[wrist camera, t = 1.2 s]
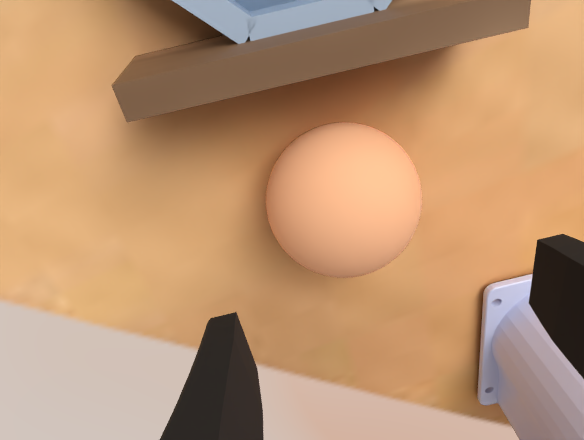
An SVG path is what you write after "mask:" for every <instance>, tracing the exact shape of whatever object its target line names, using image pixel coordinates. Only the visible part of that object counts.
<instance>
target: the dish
mask: <svg viewBox="0 0 584 440" xmlns="http://www.w3.org/2000/svg"><path fill="white" fill-rule="evenodd" d="M172 1H174V2H175V3H177V4H178V5H180V6H181V7H183V8H184V9H186V10H187V11H189V12H190V13H192V14H193V15H195V16H197V17H198V18H200V19H201V20H203V21H204V22H206V23H207V24H209V25H210V26H212V27H213V28H215V29H216V30H218V31H219V32H221V33H222V34H224V35H226V36H227V37H229V38H230V39H232V40H233V41H235V42H236V43H238V44H241V43H245V42H246V40H247V38H248V37H250V41H254V40H258V39H262V38H266V37H271V36H275V35H279V34H283V33H288V32H292V31H296V30H300V29H304V28H309V27H313V26H317V25H321V24H326V23H330V22H334V21H338V20H343V19H347V18H351V17H355V16H360V15H364V14H368V13H372V12H374V9H376V10H379V11H381V10H385V9H387V7H388V6H389V4H390V3H391V1H392V0H172Z"/></svg>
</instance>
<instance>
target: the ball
mask: <svg viewBox="0 0 584 440" xmlns="http://www.w3.org/2000/svg"><path fill="white" fill-rule="evenodd" d="M421 209H422V191H421V183H420V180H419V176H418V173H417V170H416V168H415V166H414V164H413V162H412V161H411V159H410V158H409V156H408V155H407V153H406V152H405V150H404V149H403V148H402V147H401V146H400V145H399V144H398V143H397V142H396V141H395V140H393V139H392V138H391V137H389V136H388V135H387V134H385V133H383V132H381V131H380V130H377V129H375V128H372V127H370V126H367V125H363V124H359V123H350V122H338V123H330V124H325V125H322V126H319V127H316V128H314V129H311V130H309V131H307V132H305V133H304V134H302V135H300V136H299V137H298V138H296V139H295V140H294V141H293V142H292V143H291V144H290V145H289V146H288V147H287V148H286V149H285V150H284V151H283V152H282V154H281V155H280V156H279V158H278V159H277V161H276V163H275V165H274V166H273V169H272V171H271V174H270V177H269V181H268V185H267V190H266V211H267V216H268V220H269V224H270V227H271V229H272V232H273V234H274V236H275V237H276V239H277V241H278V243H279V244H280V246H281V247H282V248H283V250H284V251H285V252H286V253H287V254H288V255H289V256H290V257H291V258H292V259H293V260H295V261H296V262H297V263H299V264H300V265H302V266H303V267H305V268H307V269H309V270H311V271H313V272H316V273H318V274H322V275H326V276H330V277H337V278H348V277H356V276H362V275H365V274H369V273H371V272H374V271H376V270H378V269H380V268H382V267H384V266H385V265H387V264H389V263H390V262H391V261H392V260H394V259H395V258H396V257H397V256H398V255H399V254H400V253H401V252H402V251H403V250H404V249H405V248H406V246H407V245H408V244H409V242H410V240H411V239H412V237H413V235H414V233H415V231H416V229H417V226H418V223H419V220H420V215H421Z"/></svg>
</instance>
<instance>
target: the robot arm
mask: <svg viewBox="0 0 584 440" xmlns="http://www.w3.org/2000/svg"><path fill="white" fill-rule="evenodd" d="M477 398H478V400H479V402H480V404H482V405H491V404H495V403H498V404H499V406H500V407H501V409H502V411H503V412H504V414H505V416H506V417H507V419H508V421H509V422H510V424H511V426H512V427H513V429H514V431H515V433H516V434H517V436H518V438H519V439H520V440H584V242H582V241H579V240H577V239H575V238H572V237H570V236H567V235H565V234H560V235H556V236H552V237H548V238H544V239H539V240H537V247H536V254H535V261H534V268H533V274H530V275H525V276H521V277H517V278H513V279H509V280H504V281H500V282H496V283H492V284H490V285H489V286H487V287H486V289H485V290H484V294H483V311H482V328H481V345H480V362H479V379H478V396H477ZM160 440H263V410H262V403H261V394H260V386H259V379H258V371H257V367H256V364H255V361H254V359H253V356H252V353H251V351H250V348H249V345H248V343H247V340H246V337H245V335H244V332H243V329H242V326H241V324H240V321H239V318H238V316H237V313H236V312H235V313H231V314H227V315H223V316H218V317H214V318H211V319H210V320H209V322H208V323H207V326H206V329H205V332H204V335H203V338H202V341H201V344H200V347H199V350H198V352H197V355H196V358H195V361H194V363H193V366H192V368H191V371H190V373H189V376H188V378H187V380H186V383H185V385H184V388H183V390H182V392H181V395H180V397H179V400H178V402H177V404H176V406H175V409H174V411H173V413H172V415H171V417H170V420H169V421H168V424H167V426H166V428H165V430H164V432H163V434H162V436H161V438H160Z"/></svg>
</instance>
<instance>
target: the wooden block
mask: <svg viewBox="0 0 584 440" xmlns="http://www.w3.org/2000/svg"><path fill="white" fill-rule="evenodd" d="M530 4H531V0H392V1H391V3H390V4H389V6H388V7H387V9H385V10H381V11H379V10H376V9H374V12H372V13H368V14H364V15H360V16H355V17H351V18H347V19H343V20H338V21H334V22H330V23H326V24H321V25H317V26H313V27H309V28H304V29H300V30H296V31H292V32H288V33H283V34H279V35H275V36H271V37H266V38H262V39H258V40H254V41H250V37H248V38H247V40H246V42H245V43H241V44H238V43H236V42H235V41H233V40H232V39H230V38H229V37H227V36H226V35H223V36H219V37H215V38H211V39H206V40H202V41H198V42H194V43H189V44H185V45H181V46H177V47H172V48H168V49H164V50H160V51H156V52H151V53H147V54H143V55H139V56H135V57H134V58H133V60H132V61H131V62H130V63H129V65H128V66H127V67H126V68H125V70H124V71H123V72H122V73H121V75H120V76H119V77H118V78H117V79H116V81H115V82H114V83H113V84H112V88H113V90H114V92H115V95H116V97H117V100H118V102H119V104H120V107H121V109H122V111H123V114H124V116H125V119H126V121H127V122H131V121H136V120H140V119H144V118H148V117H152V116H157V115H161V114H165V113H169V112H174V111H178V110H182V109H186V108H191V107H195V106H199V105H203V104H207V103H212V102H216V101H220V100H224V99H229V98H233V97H237V96H241V95H246V94H250V93H254V92H258V91H262V90H267V89H271V88H275V87H279V86H284V85H288V84H292V83H296V82H301V81H305V80H309V79H313V78H317V77H322V76H326V75H330V74H334V73H339V72H343V71H347V70H351V69H356V68H360V67H364V66H368V65H372V64H377V63H381V62H385V61H389V60H394V59H398V58H402V57H406V56H411V55H415V54H419V53H423V52H427V51H432V50H436V49H440V48H444V47H449V46H453V45H457V44H461V43H466V42H470V41H474V40H478V39H482V38H487V37H491V36H495V35H499V34H504V33H508V32H512V31H516V30H521V29H525V28H528V25H529V14H530Z"/></svg>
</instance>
